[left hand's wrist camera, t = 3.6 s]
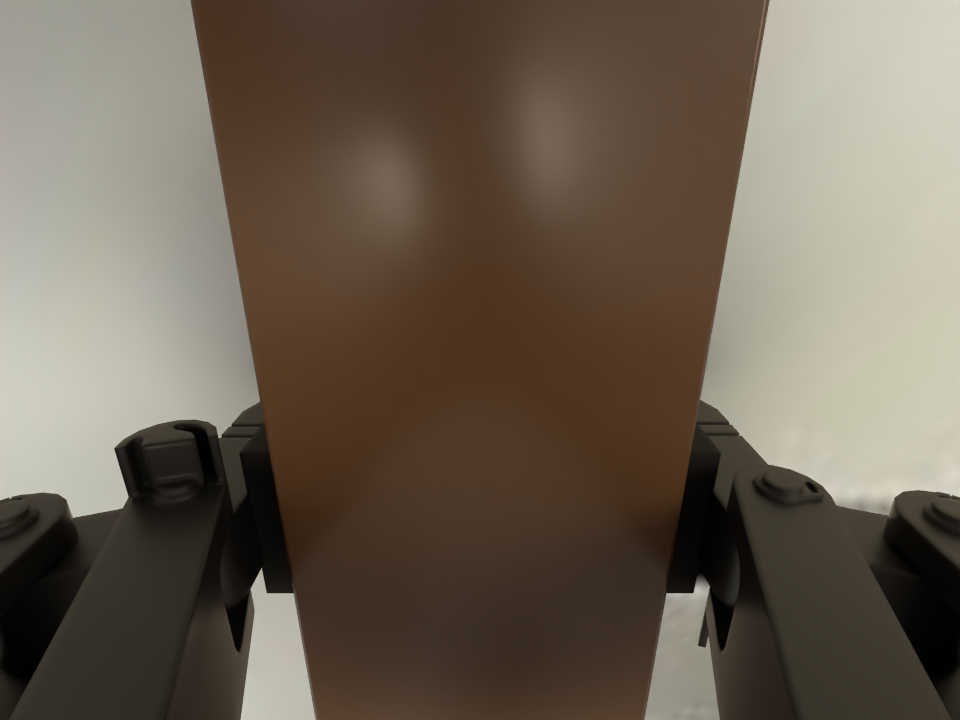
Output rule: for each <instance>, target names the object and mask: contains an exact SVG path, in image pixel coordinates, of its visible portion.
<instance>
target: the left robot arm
mask: <svg viewBox="0 0 960 720" xmlns="http://www.w3.org/2000/svg"><path fill="white" fill-rule="evenodd" d="M114 449H115V453H116V456H117V459H118V462H119V466H120V469H121V472H122V476H123V479H124V482H125V486H126V489H127V492H128V496H129V498H128V500H127V502H126V503H125V505H124V507H123V508H122V509H118V510H113V511H108V512H103V513H97V514H92V515H87V516H82V517H76V518H73V517H72V515H71V512H70V509H69V506H68V503H67V500H66V499H64V498H63V497H61V496H60V495H58V494H50V493H37V494H29V495H19V496H14V497H12V498H11V499H9V498H7V499H3V500H0V720H240V718H241V711H242V703H243V695H244V688H245V680H246V673H247V665H248V657H249V650H250V642H251V634H252V627H253V619H254V605H253V599H252V594H251V587H252V585H253V583H254V581H255V579H256V577H257V575H258V573H259V571H260V570H261V568H262V571H263V576H264V581H265V586H266V591H267V593H294V591H293V586H292V580H291V574H290V568H289V563H288V557H287V551H286V545H285V540H284V534H283V528H282V522H281V517H280V511H279V505H278V499H277V494H276V488H275V482H274V476H273V471H272V465H271V459H270V453H269V448H268V442H267V436H266V430H265V425H264V419H263V413H262V408H261V402H259V403H257V404H256V405H254V406H252V407H250V408H248V409H247V410H245V411H243V412H242V413H241V415H240V416H239V417H238V418H237V419H236V420H235V421H234V422H233V423H232V427H229V428H228V429H227V430H226V431H225V432H224V433H223V434H222V438H219V439H218V435H217V430H216V427H215V426H213V425H212V424H210V423H209V422H205V421H199V420H177V421H172V422H167V423H162V424H158V425H155V426H152V427H149V428H146V429H143V430H140V431H138V432H136V433H134V434H133V435H131V436H129V437H127V438H125V439H124V440H123V441H122V442H121V443H119V444H118V445H117V446H116V447H115V448H114ZM699 566H700V568H701V570H702V572H703V574H704V576H705V578H706V579H707V581H708V583H709V585H710V589H709V594H708V599H707V603H706V608H705V613H704V618H703V622H702V627H701V632H700V637H699V643H698V646H701V647H706V643H707V638H708V636H709V641H710V648H711V656H712V664H713V671H714V679H715V686H716V694H717V702H718V709H719V717H720V720H960V497H956V496H953V495H952V496H950V495H949V494H945V493H940V492H928V491H920V490H917V491H907V492H902V493H901V494H899V495H898V496H896V497H895V499H894V502H893V505H892V507H891V510H890V513H889V516H886V515H881V514H876V513H870V512H865V511H860V510H854V509H849V508H844V507H840V506H836V504H835V502H834V501H833V499H832V497H831V496H830V494H829V493H828V492H827V491H826V490H825V489H824V488H823V486H821V485H820V484H818V483H817V482H815V481H814V480H812V479H810V478H809V477H807V476H805V475H802V474H800V473H797V472H795V471H792V470H790V469H786V468H781V467H777V466H773V465H768V464H767V463H766V462H765V461H764V460H763V459H762V458H761V457H760V455H759V454H758V453H757V452H756V451H755V450H754V449H753V448H752V447H751V446H750V445H749V443H748V442H747V441H746V440H745V439H744V438H743V437H742V436H739V433H738V432H737V430H736V429H735V428H734V427H733V426H732V425H729V422H728V421H727V420H726V419H725V417H724V416H723V415H722V414H721V413H720V412H719V411H718V410H717V409H715V408H714V407H712V406H710V405H708V404H706V403H705V402H703V401H701V400H700V402H699V408H698V413H697V419H696V425H695V431H694V436H693V442H692V448H691V454H690V459H689V465H688V471H687V477H686V482H685V488H684V494H683V500H682V505H681V511H680V517H679V523H678V528H677V534H676V540H675V546H674V551H673V557H672V563H671V569H670V574H669V580H668V586H667V592H666V593H693V592H694V587H695V582H696V577H697V572H698V567H699Z"/></svg>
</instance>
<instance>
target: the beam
mask: <svg viewBox="0 0 960 720" xmlns="http://www.w3.org/2000/svg"><path fill="white" fill-rule="evenodd" d="M191 5H192V11H193V17H194V22H195V28H196V34H197V40H198V45H199V51H200V57H201V63H202V68H203V74H204V80H205V86H206V91H207V97H208V103H209V109H210V114H211V120H212V126H213V132H214V137H215V143H216V149H217V155H218V160H219V166H220V172H221V178H222V183H223V189H224V195H225V201H226V206H227V212H228V218H229V224H230V229H231V235H232V241H233V247H234V252H235V258H236V264H237V270H238V275H239V281H240V287H241V293H242V298H243V304H244V310H245V316H246V321H247V327H248V333H249V339H250V344H251V350H252V356H253V362H254V367H255V373H256V379H257V385H258V390H259V396H260V402H261V408H262V413H263V419H264V425H265V430H266V436H267V442H268V448H269V453H270V459H271V465H272V471H273V476H274V482H275V488H276V494H277V499H278V505H279V511H280V517H281V522H282V528H283V534H284V540H285V545H286V551H287V557H288V563H289V568H290V574H291V580H292V586H293V591H294V597H295V603H296V609H297V614H298V620H299V626H300V632H301V637H302V643H303V649H304V655H305V660H306V666H307V672H308V678H309V683H310V689H311V695H312V701H313V706H314V712H315V718H316V720H644V718H645V712H646V707H647V701H648V695H649V689H650V684H651V678H652V672H653V666H654V661H655V655H656V649H657V643H658V638H659V632H660V626H661V620H662V615H663V609H664V603H665V597H666V592H667V586H668V580H669V574H670V569H671V563H672V557H673V551H674V546H675V540H676V534H677V528H678V523H679V517H680V511H681V505H682V500H683V494H684V488H685V482H686V477H687V471H688V465H689V459H690V454H691V448H692V442H693V436H694V431H695V425H696V419H697V413H698V408H699V402H700V396H701V390H702V385H703V379H704V373H705V367H706V362H707V356H708V350H709V344H710V339H711V333H712V327H713V321H714V316H715V310H716V304H717V298H718V293H719V287H720V281H721V275H722V270H723V264H724V258H725V252H726V247H727V241H728V235H729V229H730V224H731V218H732V212H733V206H734V201H735V195H736V189H737V183H738V178H739V172H740V166H741V160H742V155H743V149H744V143H745V137H746V132H747V126H748V120H749V114H750V109H751V103H752V97H753V91H754V86H755V80H756V74H757V68H758V63H759V57H760V51H761V45H762V40H763V34H764V28H765V22H766V17H767V11H768V5H769V0H191Z"/></svg>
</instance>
